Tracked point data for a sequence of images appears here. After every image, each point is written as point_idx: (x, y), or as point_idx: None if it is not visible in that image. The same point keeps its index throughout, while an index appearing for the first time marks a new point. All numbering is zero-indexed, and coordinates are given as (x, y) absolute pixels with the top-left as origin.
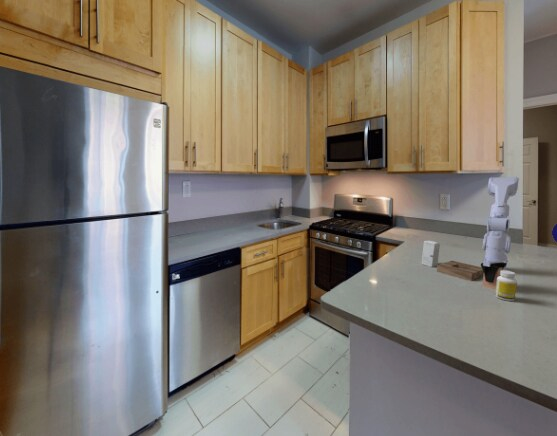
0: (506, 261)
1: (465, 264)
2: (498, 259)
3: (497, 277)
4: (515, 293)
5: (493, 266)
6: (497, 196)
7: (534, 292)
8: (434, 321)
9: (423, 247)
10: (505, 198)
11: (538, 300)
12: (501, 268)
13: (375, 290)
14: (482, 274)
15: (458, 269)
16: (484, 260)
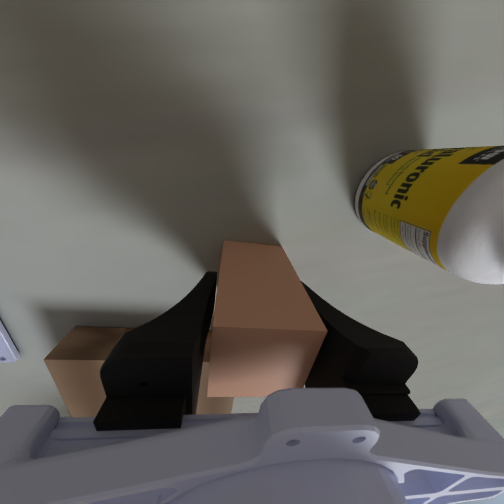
0: (363, 419)
1: (90, 415)
2: (403, 499)
3: (501, 282)
4: (446, 148)
5: (375, 382)
6: None
7: (149, 67)
8: None
9: None
10: None
11: (315, 25)
12: (241, 325)
13: (493, 409)
14: (110, 333)
15: (214, 402)
16: (475, 499)
